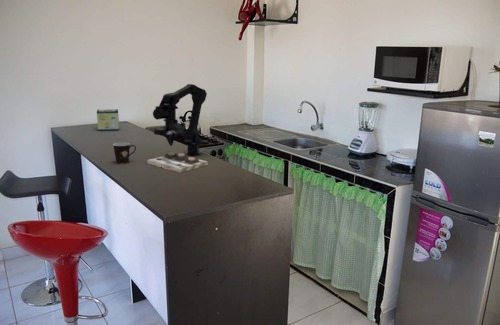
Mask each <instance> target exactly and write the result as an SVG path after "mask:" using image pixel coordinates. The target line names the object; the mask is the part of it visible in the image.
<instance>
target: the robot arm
mask: <svg viewBox="0 0 500 325" xmlns="http://www.w3.org/2000/svg"><path fill="white" fill-rule="evenodd" d="M207 94H208V93H207V91H206V90H205V89H204V88H201V87H198V86H197V85H196V84H191V83H190V84H189V83H188V84H186V85H185V86H183V87H181V88H180V89H178V90H176V91H174V92H169V93H165V94H164V95H163V96H162V99H161V101H160V103H159V105H158V106H157V105H156V106H155V109H153V111H152V117H153V118H154V119H155V120H157V121H158V120H163V122H164V126H163V128H155V129H154V131H153V134H154V135H157V136H164V137H165V138H166V141H167V143H168V145H169V146H170V147H171V146H173V144H174V142H175V138H176V137H177V135H179V134H180V133H183V140H184V143H185V145H187V152H186V153H185V155H187V156H188V155H189V156H191V157H193V156H198V155H201V154H202V153H201V152H200V146H201V145H202V144H203V143H202V142H203V141H202V140H201V138H200V134H199V130H198V126H199V122H200V121H199V120H200V115H201V110H202V105H203V104H204V103H205V102H206V99H207V96H208V95H207ZM188 95H191V101H192V109H191V113H190V119H189V125H188V127H187V126H186V123H185V122H181V123H179V122H178V121H179V120H178V119H176V110H178V109H179V107H178V106H177V104H179V103H180V100H181V99H183V98H185V97H186V96H188Z"/></svg>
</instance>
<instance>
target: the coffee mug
mask: <svg viewBox="0 0 500 325" xmlns="http://www.w3.org/2000/svg"><path fill="white" fill-rule="evenodd" d="M112 146H113V151H114V157H115V158H114V159H115V162H117V163H116V164H119V163H124V164H128V163H129V160H130V156H131V155H133V154H134V153H135V151H136V150H137V147H136V145H134V144H130V143H129V142H115V143H113V144H112ZM132 147H134V150H133V151H132V152H131V153H130V149H131V148H132ZM127 162H128V163H127Z"/></svg>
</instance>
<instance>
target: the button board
mask: <svg viewBox="0 0 500 325" xmlns="http://www.w3.org/2000/svg"><path fill="white" fill-rule="evenodd" d="M174 153H175V152H174ZM189 157H190V156H188V155H185V157H183V158H179V157H178V153H175V155H168V153H165V154H164V155H163V156H159V157H154V158H150V159H147V160H146V164H147V163H148V165H151V164H152V166H154V165H155V167H158V168H161V167H162V169H165V170H168V171H173V172H176V173H179V174H180V173H184V172H188V171H191V170H195V169H199V168H201V167H202V168H203V167H205V166H208V164H209V163H208V161H207V160H203V159H199V158H197V157H194V158H195V160H192V161H191V160H188V158H189Z"/></svg>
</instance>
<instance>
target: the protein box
mask: <svg viewBox="0 0 500 325" xmlns="http://www.w3.org/2000/svg"><path fill="white" fill-rule="evenodd" d="M96 119H97V122H96V123H97V132H119V131H120V120H119V109H97V110H96Z"/></svg>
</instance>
